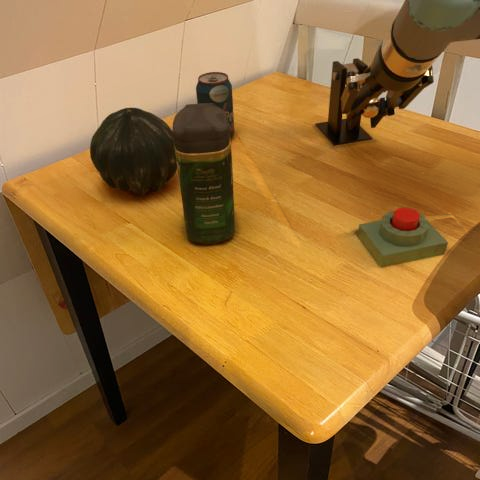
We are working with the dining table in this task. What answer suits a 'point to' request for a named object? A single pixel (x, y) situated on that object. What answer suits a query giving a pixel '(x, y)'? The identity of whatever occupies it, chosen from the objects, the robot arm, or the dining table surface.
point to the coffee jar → (205, 172)
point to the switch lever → (374, 104)
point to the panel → (400, 241)
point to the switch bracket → (336, 125)
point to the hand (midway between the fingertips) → (360, 121)
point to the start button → (405, 219)
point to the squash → (134, 151)
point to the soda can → (217, 94)
